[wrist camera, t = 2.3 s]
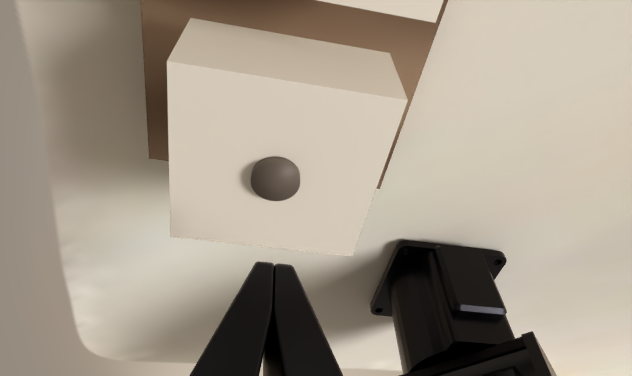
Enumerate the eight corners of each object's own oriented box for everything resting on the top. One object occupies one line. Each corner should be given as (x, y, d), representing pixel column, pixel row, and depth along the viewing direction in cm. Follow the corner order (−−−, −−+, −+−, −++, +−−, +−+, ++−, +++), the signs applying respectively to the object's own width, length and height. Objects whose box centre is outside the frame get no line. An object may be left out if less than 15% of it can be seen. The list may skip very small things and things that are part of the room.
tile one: (345, 198, 17) (352, 263, 15) (188, 178, 17) (168, 243, 14) (389, 53, 14) (410, 105, 11) (190, 17, 13) (164, 66, 10)
